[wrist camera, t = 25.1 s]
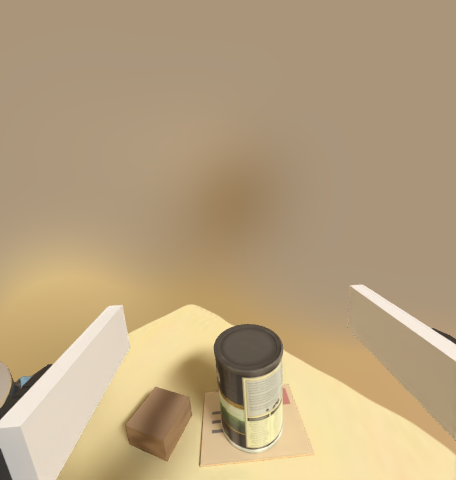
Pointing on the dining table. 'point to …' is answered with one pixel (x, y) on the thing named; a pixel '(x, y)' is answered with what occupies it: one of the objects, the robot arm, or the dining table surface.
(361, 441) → the dining table surface
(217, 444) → the letter
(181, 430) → the walnut block
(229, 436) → the coffee can
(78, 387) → the robot arm
